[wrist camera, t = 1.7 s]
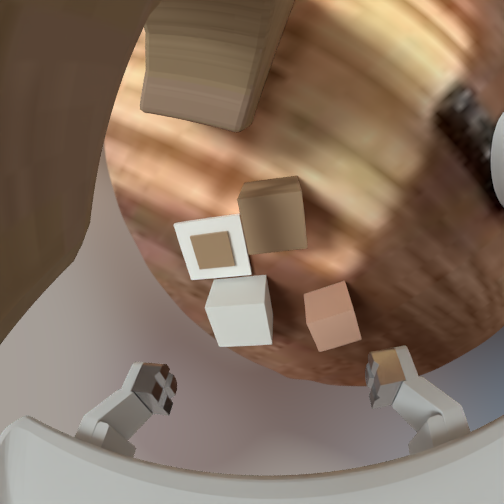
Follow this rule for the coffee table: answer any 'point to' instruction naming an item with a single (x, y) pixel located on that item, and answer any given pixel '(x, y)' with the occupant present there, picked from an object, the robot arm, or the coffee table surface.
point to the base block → (241, 311)
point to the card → (214, 247)
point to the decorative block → (105, 107)
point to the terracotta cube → (331, 317)
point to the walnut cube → (273, 215)
